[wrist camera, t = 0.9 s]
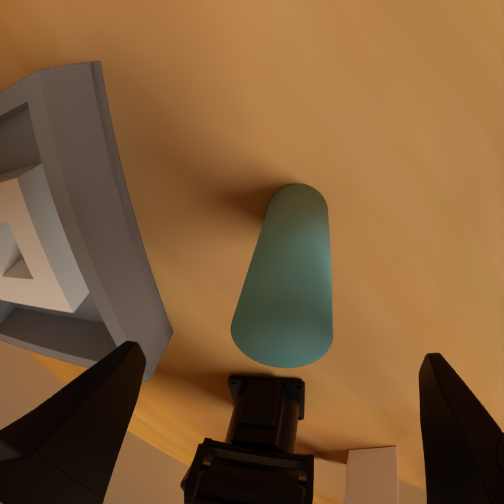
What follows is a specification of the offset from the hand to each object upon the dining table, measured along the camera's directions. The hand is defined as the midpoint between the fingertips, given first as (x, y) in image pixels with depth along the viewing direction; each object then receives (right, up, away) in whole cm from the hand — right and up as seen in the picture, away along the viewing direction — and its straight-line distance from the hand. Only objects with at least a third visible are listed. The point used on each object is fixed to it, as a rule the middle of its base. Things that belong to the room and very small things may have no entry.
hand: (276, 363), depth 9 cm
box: (-18, +5, +12) cm, 22 cm away
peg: (+2, +5, +8) cm, 10 cm away
